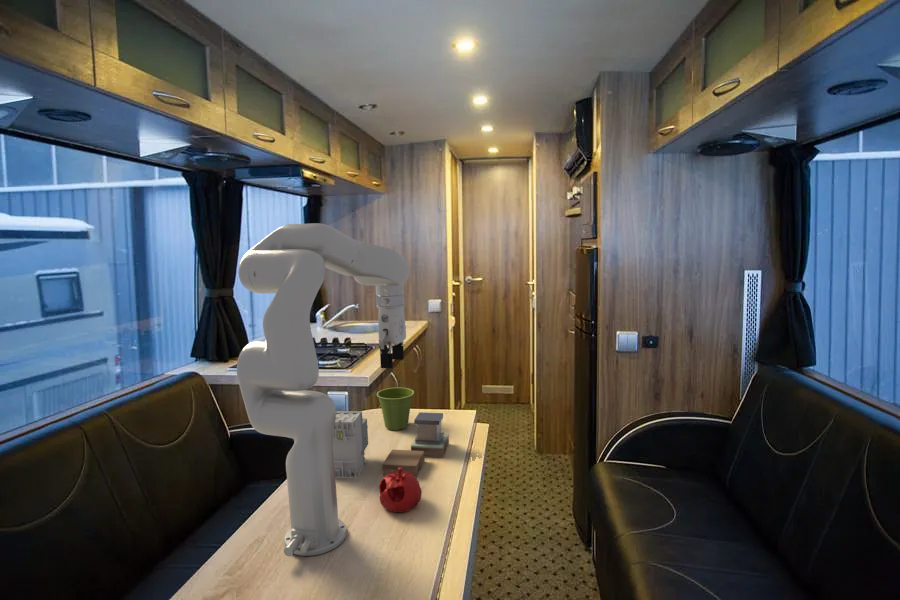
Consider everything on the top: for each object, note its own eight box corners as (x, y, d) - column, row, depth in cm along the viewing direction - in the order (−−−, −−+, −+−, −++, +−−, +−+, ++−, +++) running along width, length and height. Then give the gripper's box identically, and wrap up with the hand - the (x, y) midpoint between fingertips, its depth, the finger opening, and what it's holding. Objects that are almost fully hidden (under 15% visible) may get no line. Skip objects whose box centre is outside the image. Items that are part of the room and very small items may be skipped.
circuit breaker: (370, 454, 151) (367, 403, 148) (357, 478, 137) (353, 422, 134) (344, 453, 151) (341, 403, 149) (328, 477, 137) (324, 422, 135)
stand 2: (443, 457, 147) (442, 447, 146) (411, 455, 149) (410, 445, 148) (448, 443, 156) (448, 434, 155) (418, 442, 157) (418, 432, 157)
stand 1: (416, 477, 136) (416, 466, 136) (382, 475, 138) (382, 464, 137) (424, 461, 145) (424, 451, 144) (392, 459, 146) (392, 449, 146)
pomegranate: (402, 490, 130) (401, 454, 129) (430, 504, 123) (429, 466, 122) (369, 506, 123) (368, 467, 122) (397, 521, 116) (395, 481, 115)
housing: (439, 444, 148) (438, 420, 147) (415, 443, 149) (414, 420, 148) (443, 436, 154) (443, 413, 153) (420, 435, 155) (419, 412, 154)
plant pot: (414, 433, 165) (413, 398, 163) (376, 434, 164) (374, 399, 163) (416, 419, 176) (415, 386, 175) (380, 420, 176) (378, 387, 174)
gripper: (393, 305, 134) (396, 372, 136) (412, 297, 151) (414, 356, 153) (365, 305, 136) (368, 371, 138) (387, 297, 152) (389, 356, 155)
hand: (392, 363), depth 145 cm, fingers open, 9 cm apart
